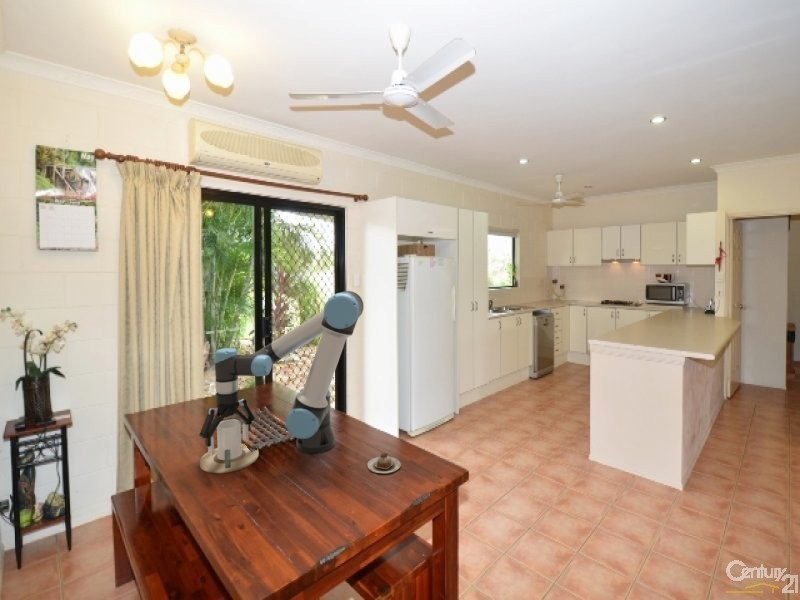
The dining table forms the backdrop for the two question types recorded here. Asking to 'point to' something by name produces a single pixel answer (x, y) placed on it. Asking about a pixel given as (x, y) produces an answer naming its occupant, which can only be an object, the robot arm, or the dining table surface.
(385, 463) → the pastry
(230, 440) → the mug
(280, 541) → the dining table surface
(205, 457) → the cream saucer dish
